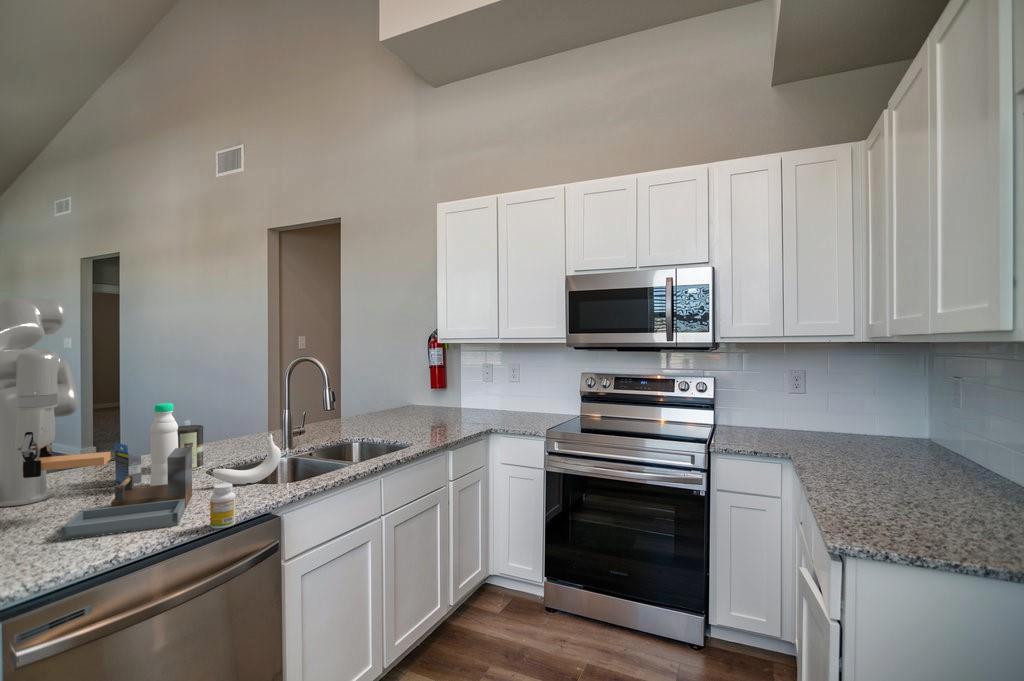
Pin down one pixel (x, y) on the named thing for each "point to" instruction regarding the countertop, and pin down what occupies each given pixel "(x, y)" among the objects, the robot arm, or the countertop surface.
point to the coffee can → (192, 442)
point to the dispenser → (174, 490)
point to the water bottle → (162, 442)
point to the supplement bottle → (222, 506)
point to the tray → (124, 519)
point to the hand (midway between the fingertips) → (37, 472)
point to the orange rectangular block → (74, 461)
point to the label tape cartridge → (127, 464)
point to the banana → (255, 473)
